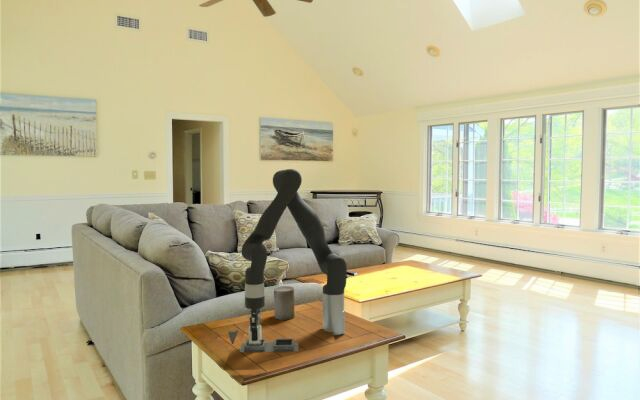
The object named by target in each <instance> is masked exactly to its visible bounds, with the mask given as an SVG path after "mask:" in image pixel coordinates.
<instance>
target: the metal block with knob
mask: <svg viewBox="0 0 640 400" xmlns="http://www.w3.org/2000/svg"><path fill="white" fill-rule="evenodd" d="M253 328H256V327H255V326H253ZM257 334H258V340H257V341H252V334H251V331H250V325H249V326H248V339H249V346H261V343H262V339H263V338H262V325H261V324H259V325H258V331H257Z"/></svg>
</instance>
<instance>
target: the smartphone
mask: <svg viewBox="0 0 640 400" xmlns="http://www.w3.org/2000/svg"><path fill="white" fill-rule="evenodd" d="M238 334H239V330H230V331H228V336H229V338H230V342H231V344H234V343H235V341H236V338H237V336H238Z"/></svg>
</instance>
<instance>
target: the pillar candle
mask: <svg viewBox="0 0 640 400" xmlns="http://www.w3.org/2000/svg"><path fill="white" fill-rule="evenodd" d="M273 308H274V309H273V311H274V312H273V313H274V316H273V317H274V318H275V319H276V320H279V321H287V320H290V319H293V318H295V288H294V287H293V286H290V285H287V286H285V285H283V286H282V285H280V286H277V287H273Z"/></svg>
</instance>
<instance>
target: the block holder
mask: <svg viewBox="0 0 640 400" xmlns="http://www.w3.org/2000/svg"><path fill="white" fill-rule="evenodd" d="M267 352H268V353H271V352H273V353H274V352H275V353H277V352H280V353H281V352H299V342H298V341H296V342H295V338H274V340H273V342H267V339H266V338H262V343H261V346H249V338H248V339H245V342H244V343H241V345H240V349H239V353H267Z"/></svg>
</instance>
